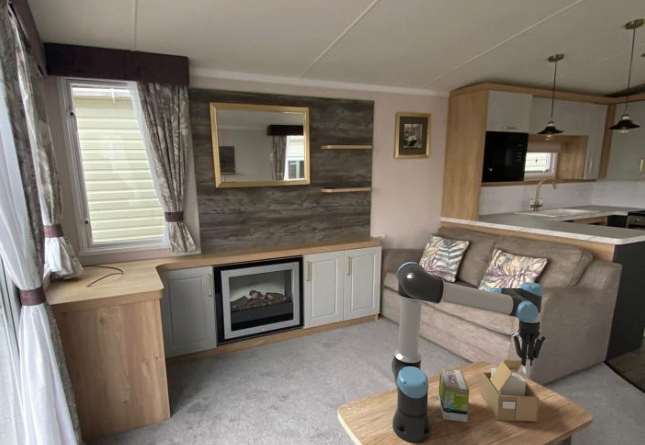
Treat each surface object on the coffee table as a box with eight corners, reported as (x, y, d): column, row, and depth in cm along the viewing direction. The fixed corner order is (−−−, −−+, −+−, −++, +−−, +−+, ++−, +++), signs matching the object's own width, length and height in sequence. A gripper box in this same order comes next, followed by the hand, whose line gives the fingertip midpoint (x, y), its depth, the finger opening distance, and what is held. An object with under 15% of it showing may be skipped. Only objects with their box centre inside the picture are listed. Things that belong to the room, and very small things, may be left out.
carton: (497, 421, 142) (499, 388, 140) (480, 393, 160) (482, 364, 158) (539, 423, 141) (541, 389, 139) (516, 395, 159) (519, 365, 157)
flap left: (499, 392, 143) (498, 391, 143) (490, 379, 152) (489, 379, 152) (512, 372, 141) (511, 372, 141) (502, 361, 150) (502, 361, 150)
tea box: (468, 422, 141) (469, 389, 139) (442, 419, 143) (444, 386, 141) (461, 400, 156) (462, 369, 154) (438, 397, 158) (439, 367, 156)
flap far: (498, 372, 157) (498, 371, 157) (516, 373, 157) (516, 372, 157) (504, 360, 151) (504, 359, 152) (523, 360, 151) (522, 360, 151)
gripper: (517, 323, 139) (514, 377, 142) (551, 323, 138) (546, 378, 141) (509, 315, 147) (505, 367, 150) (540, 316, 146) (536, 368, 149)
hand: (525, 372), depth 146 cm, fingers closed
